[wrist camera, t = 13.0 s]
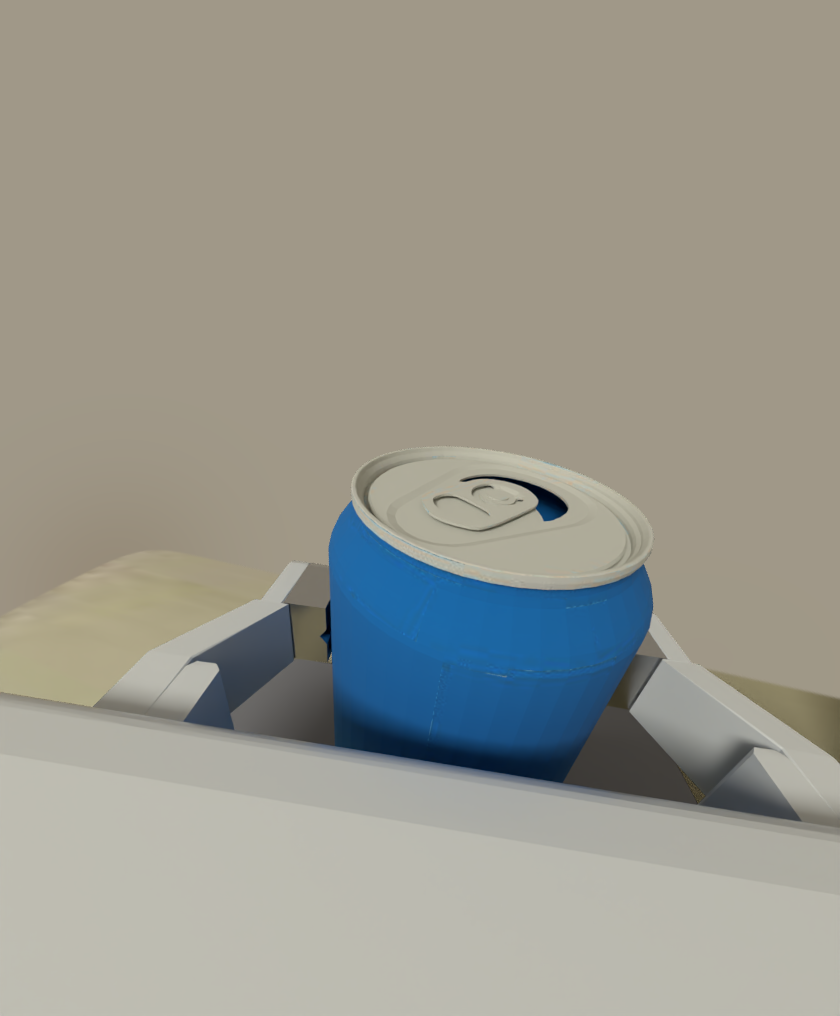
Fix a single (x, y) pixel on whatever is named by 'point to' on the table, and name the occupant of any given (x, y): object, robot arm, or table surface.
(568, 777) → the charcoal mat
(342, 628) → the beverage can
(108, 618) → the table surface
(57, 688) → the table surface
